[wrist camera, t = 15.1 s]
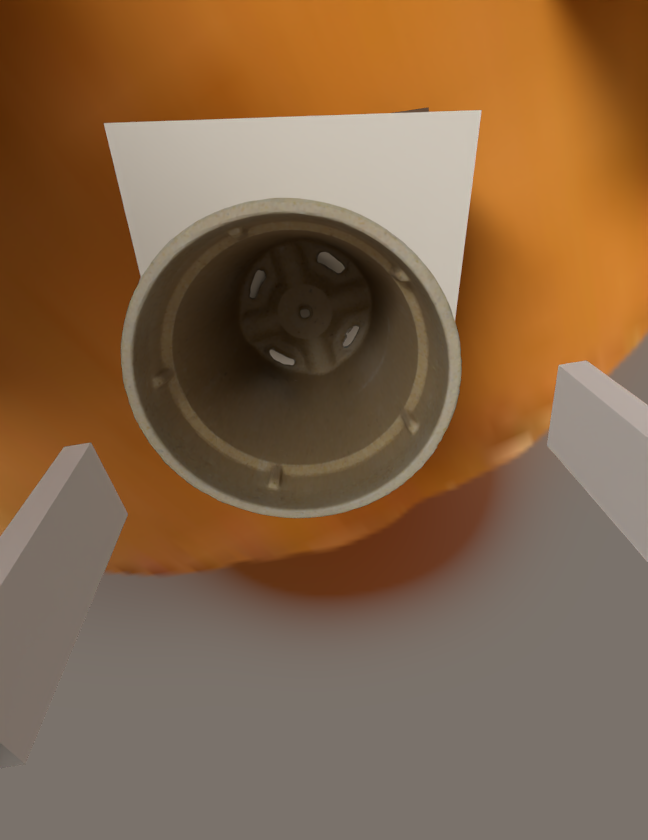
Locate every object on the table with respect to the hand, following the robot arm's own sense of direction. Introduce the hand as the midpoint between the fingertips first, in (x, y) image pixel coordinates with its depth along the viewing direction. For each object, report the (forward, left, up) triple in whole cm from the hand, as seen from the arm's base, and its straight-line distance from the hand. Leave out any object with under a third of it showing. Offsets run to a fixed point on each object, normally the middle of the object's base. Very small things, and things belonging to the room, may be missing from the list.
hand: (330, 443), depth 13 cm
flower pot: (0, +1, -9) cm, 9 cm away
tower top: (0, +1, -14) cm, 15 cm away
